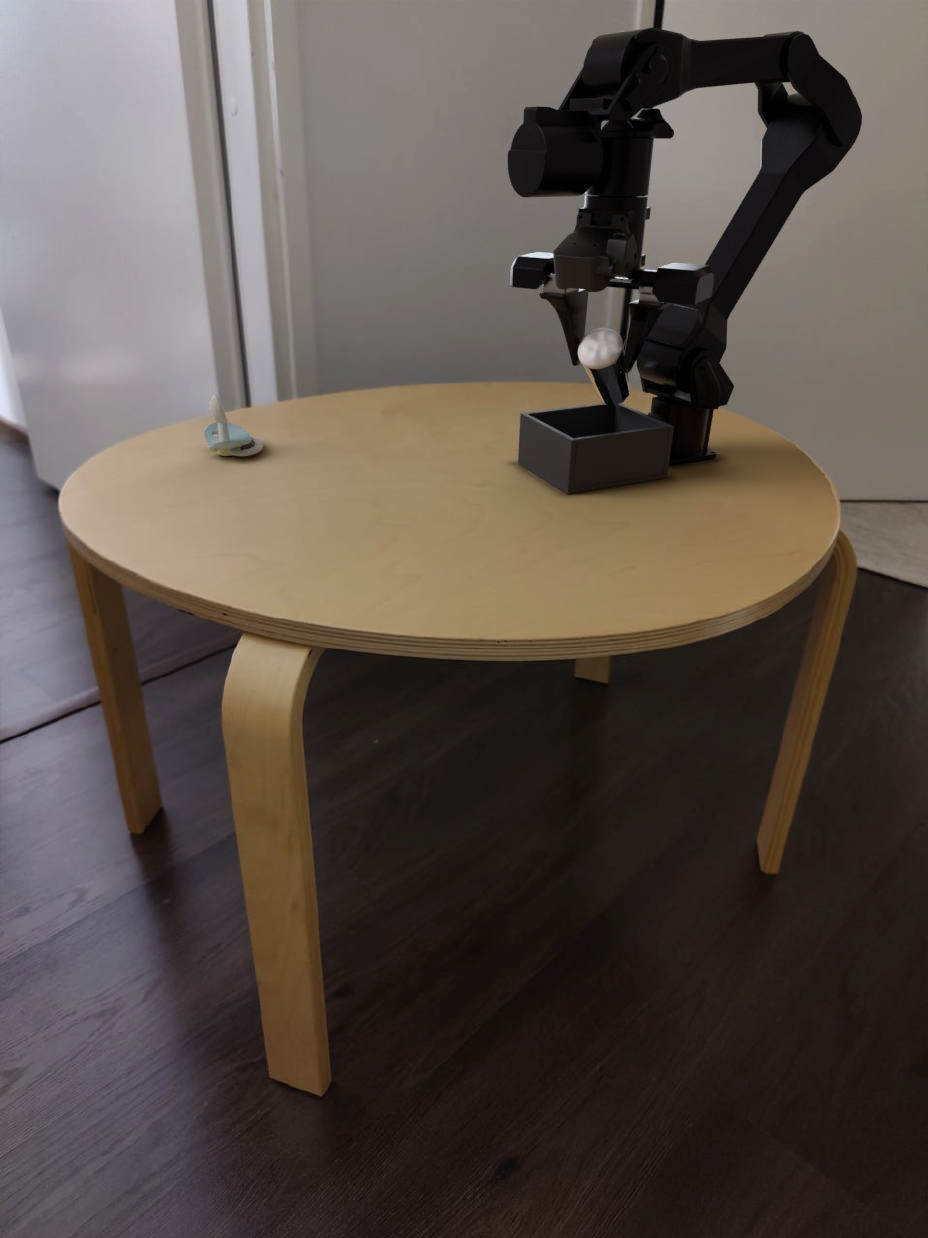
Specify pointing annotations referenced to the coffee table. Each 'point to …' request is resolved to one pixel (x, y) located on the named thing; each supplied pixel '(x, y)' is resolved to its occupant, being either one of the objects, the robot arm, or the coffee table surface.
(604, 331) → the milkshake
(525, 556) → the coffee table surface
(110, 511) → the coffee table surface
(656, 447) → the bin
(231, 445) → the pacifier
